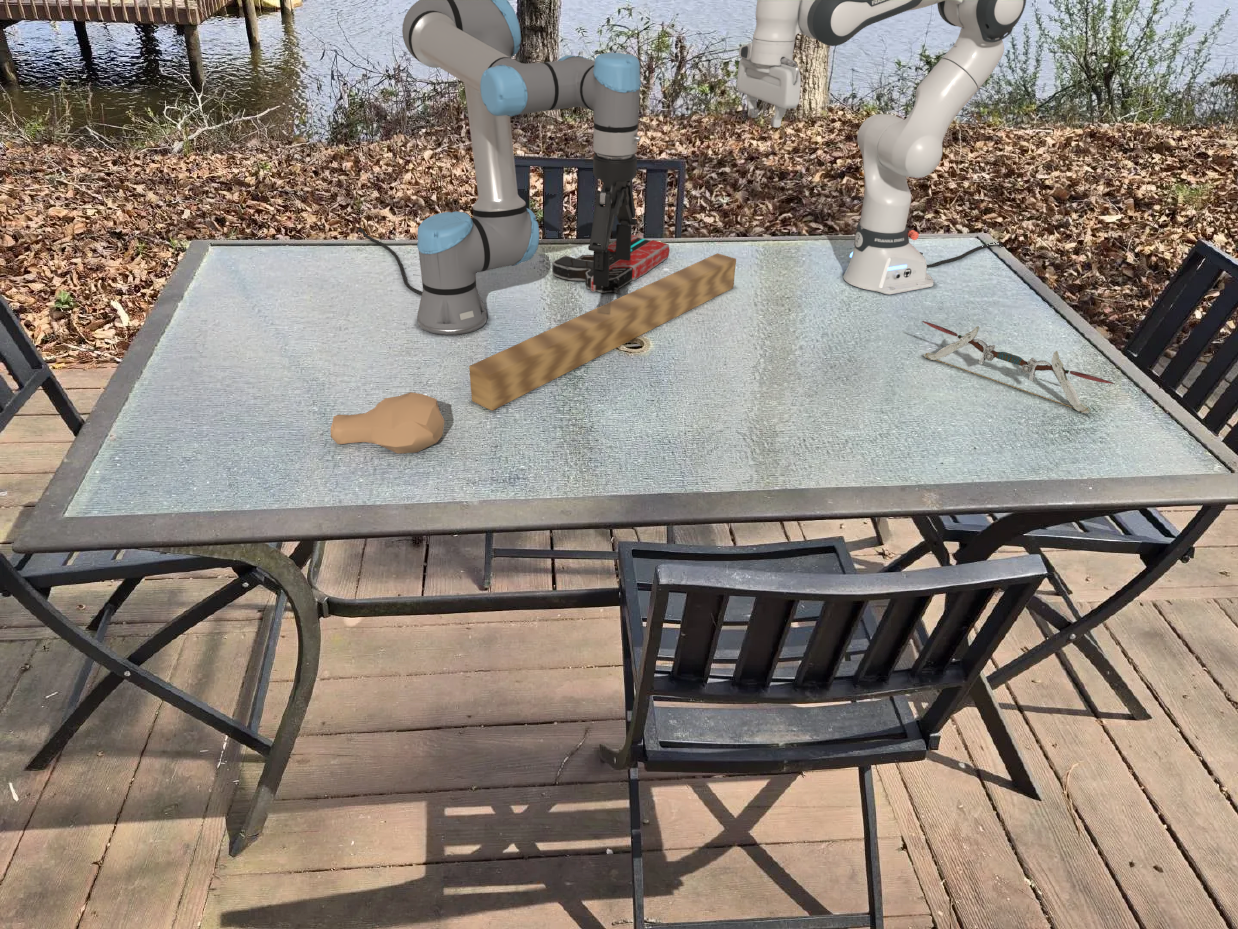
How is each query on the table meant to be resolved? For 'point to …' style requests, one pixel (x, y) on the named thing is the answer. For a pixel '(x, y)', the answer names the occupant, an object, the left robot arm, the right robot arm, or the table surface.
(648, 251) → the gun
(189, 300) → the table surface
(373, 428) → the squash
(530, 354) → the bar
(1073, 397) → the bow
